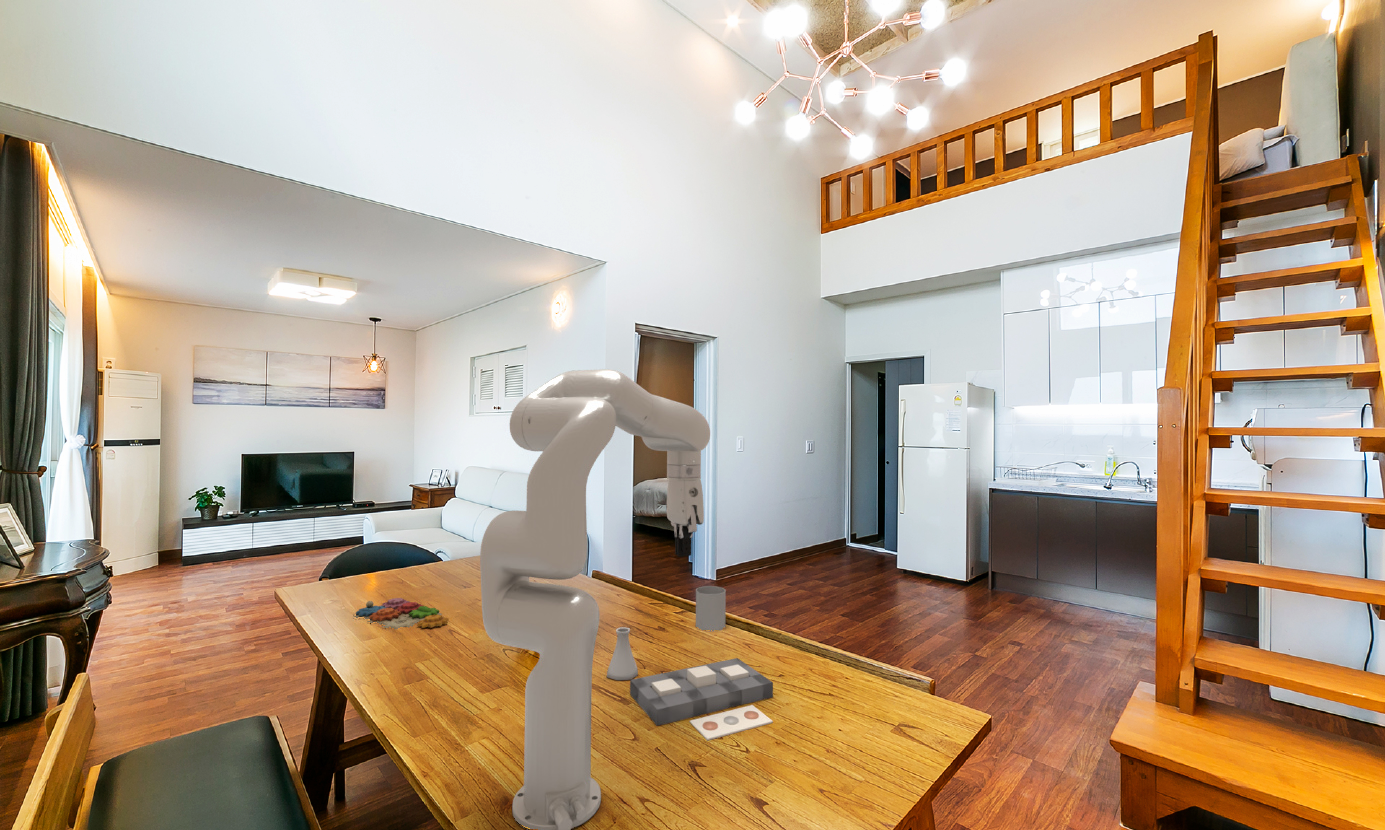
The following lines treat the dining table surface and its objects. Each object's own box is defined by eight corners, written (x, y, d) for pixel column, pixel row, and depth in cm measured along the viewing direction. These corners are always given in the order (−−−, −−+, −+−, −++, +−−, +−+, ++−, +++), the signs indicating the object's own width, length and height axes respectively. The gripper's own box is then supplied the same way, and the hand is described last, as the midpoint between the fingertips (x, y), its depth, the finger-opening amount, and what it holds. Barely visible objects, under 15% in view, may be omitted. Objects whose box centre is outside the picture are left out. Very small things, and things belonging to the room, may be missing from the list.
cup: (690, 623, 163) (691, 587, 163) (716, 619, 166) (716, 584, 167) (703, 633, 155) (704, 595, 156) (730, 628, 159) (730, 592, 159)
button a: (748, 689, 121) (748, 672, 122) (730, 693, 119) (730, 676, 120) (737, 681, 125) (737, 664, 125) (720, 685, 123) (720, 668, 123)
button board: (772, 697, 118) (772, 682, 119) (657, 726, 107) (657, 709, 107) (737, 671, 131) (737, 658, 131) (630, 694, 119) (630, 679, 119)
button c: (680, 705, 114) (680, 687, 114) (660, 710, 112) (660, 691, 112) (671, 696, 118) (671, 678, 118) (651, 700, 116) (651, 682, 116)
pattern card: (772, 722, 108) (772, 720, 108) (707, 740, 102) (707, 737, 102) (752, 706, 114) (752, 704, 114) (689, 722, 108) (689, 719, 108)
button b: (715, 691, 118) (715, 673, 118) (696, 695, 116) (696, 677, 116) (705, 682, 122) (705, 665, 122) (687, 686, 120) (687, 669, 120)
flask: (632, 683, 125) (633, 636, 125) (601, 679, 126) (601, 633, 126) (642, 669, 132) (643, 625, 132) (612, 666, 133) (613, 623, 133)
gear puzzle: (464, 622, 164) (464, 608, 164) (411, 639, 150) (411, 624, 150) (400, 604, 180) (400, 591, 180) (346, 618, 166) (347, 604, 167)
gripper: (715, 474, 123) (714, 561, 122) (684, 469, 136) (683, 547, 136) (683, 475, 120) (682, 564, 119) (655, 470, 133) (654, 550, 132)
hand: (683, 555), depth 127 cm, fingers closed
